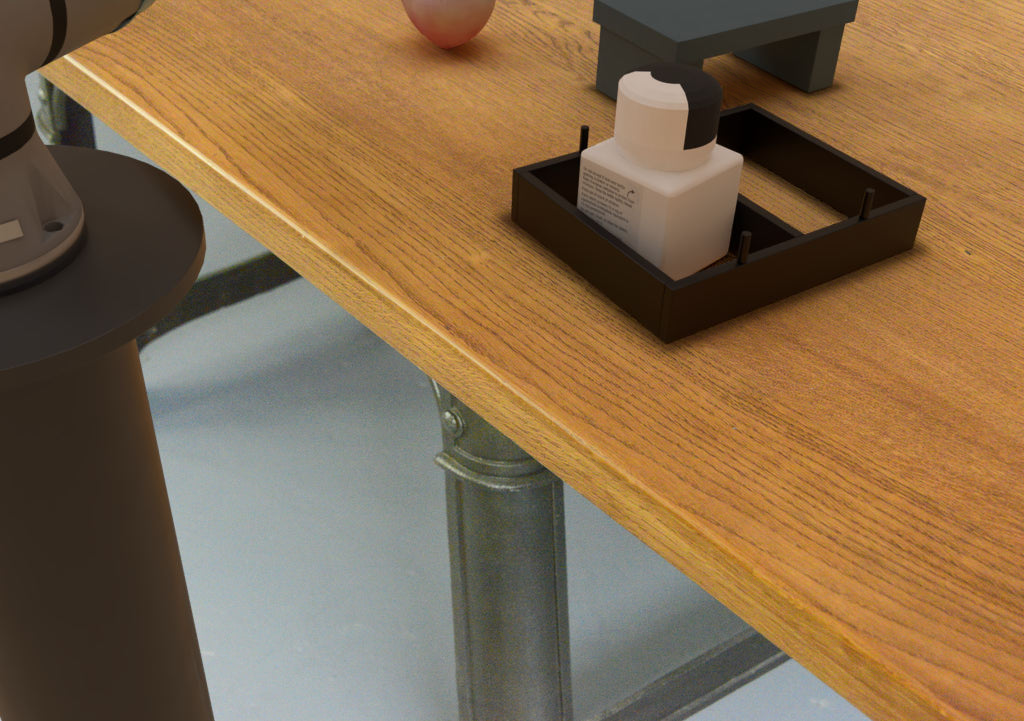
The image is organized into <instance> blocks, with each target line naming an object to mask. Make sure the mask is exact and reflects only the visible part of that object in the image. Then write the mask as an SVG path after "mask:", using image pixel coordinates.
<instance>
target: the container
mask: <svg viewBox="0 0 1024 721" xmlns="http://www.w3.org/2000/svg"><path fill="white" fill-rule="evenodd" d="M723 97H724V89H723V87H722V85H721V84H720V82H719V80H718V79H717V78H716V77H715V76H714V75H713V74H711V73H709V72H708V71H705V70H704V69H703V70H701V69H699V68H696V67H693V66H690V65H687V64H682V63H675V62H656V63H650V64H646V65H641V66H638V67H635V68H633V69H631V70H629V71H628V72H627V73H625V74H624V75H623V76H622V78H621V79H620V81H619V85H618V96H617V101H616V107H615V118H614V127H613V128H614V130H613V136H612V137H609V138H607V139H605V140H602V141H601V142H598V143H596V144H594V145H592V146H590V147H589V146H588V148H587V149H585V150H584V151H582V153H581V162H580V176H579V189H578V203H577V205H576V208H578V209H579V210H581V211H582V212H583V213H585V214H586V215H587V216H589V217H590V218H591V219H593V220H594V221H595V222H597V223H598V224H599V225H601V226H602V227H603V228H605V229H606V230H607V231H609V232H610V233H611V234H613V235H614V236H615V237H617V238H618V239H619V240H621V241H622V242H624V243H625V244H626V245H628V246H629V247H630V248H632V249H633V250H634V251H636V252H637V253H638V254H640V255H641V256H642V257H644V258H645V259H646V260H648V261H649V262H650V263H652V264H653V265H654V266H656V267H657V268H658V269H660V270H661V271H662V272H664V273H665V274H667V275H668V276H669V277H671V278H672V279H673V280H674V281H677V280H679V279H682V278H685V277H688V276H690V275H693V274H696V273H699V272H701V271H703V270H704V269H705V268H707V267H708V266H710V265H712V264H713V263H715V262H716V261H718V260H721V259H722V258H724V257H725V256H727V254H728V253H729V250H728V249H729V243H730V238H731V232H732V226H733V220H734V214H735V208H736V202H737V196H738V192H739V190H740V184H741V178H742V172H743V165H744V155H743V154H742V155H741V154H739V153H736V152H734V151H732V150H729V149H727V148H725V147H722V146H720V145H718V144H716V138H717V131H718V125H719V118H720V112H721V111H722V104H723Z"/></svg>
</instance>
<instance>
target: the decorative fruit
mask: <svg viewBox="0 0 1024 721" xmlns="http://www.w3.org/2000/svg"><path fill="white" fill-rule="evenodd" d="M496 1H497V0H400V2H401V4H402V7H403V9H404V11H405V13H406V15H407V18H408V19H409V21H410V22H411V24H412V25H413V26H414V27H415V29H416V30H417V31H418V32H419V33H420V34H422V35H423V36H424V37H425V38H426V39H427V40H429V41H430V42H431V43H432V44H434V45H436V46H438V47H440V48H441V49H444V50H449V49H452V48H456V47H457V46H460V45H463V44H465V43H467V42H469V41H471V40H472V39H473V38H475V37H476V36H477V35H479V33H480V32H481V31H483V29H484V27H485V26H486V25H487V24H488V22H489V20H490V19H491V16H492V14H493V12H494V9H495V6H496Z"/></svg>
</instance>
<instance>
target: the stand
mask: <svg viewBox="0 0 1024 721" xmlns="http://www.w3.org/2000/svg"><path fill="white" fill-rule="evenodd" d="M859 3H860V0H593V6H592V18H591V19H592V22H593V23H595V24H597V25H599V27H600V28H599V40H598V52H597V64H596V75H595V76H596V77H595V90H597V91H599V92H600V93H602V94H604V95H606V96H607V97H609V98H610V99H612V100H614V101H615V102H617V96H618V85H619V81H620V79H621V78H622V76H623V75H624V74H625V73H627V72H628V71H629V70H631V69H633V68H635V67H638V66H641V65H646V64H650V63H656V62H675V63H682V64H687V65H690V66H693V67H696V68H699V69H701V70H703V71H704V62H705V60H708V59H711V58H715V57H719V56H723V55H727V54H731V53H732V55H734V56H736V57H738V58H739V59H741V60H743V61H746V62H748V63H749V64H751V65H753V66H755V67H757V68H759V69H761V70H763V71H765V72H767V73H769V74H770V75H773V76H775V77H776V78H778V79H780V80H782V81H785V82H786V83H788V84H790V85H792V86H794V87H796V88H798V89H800V90H802V91H804V92H805V93H813V92H816V91H820V90H824V89H827V88H831V87H833V84H834V81H835V80H834V79H835V76H836V75H835V74H836V69H837V65H838V60H839V57H840V56H839V55H840V52H841V46H842V42H843V37H844V33H845V27H846V24H847V25H848V24H850V23H854V22H855V21H856V16H857V12H858V7H859Z"/></svg>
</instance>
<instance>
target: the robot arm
mask: <svg viewBox="0 0 1024 721" xmlns="http://www.w3.org/2000/svg"><path fill="white" fill-rule="evenodd" d="M156 2H157V0H0V297H3V296H7V295H10V294H13V293H16V292H19V291H22V290H24V289H27V288H29V287H32V286H34V285H36V284H38V283H40V282H42V281H44V280H46V279H48V278H50V277H51V276H53V275H55V274H56V273H58V272H59V271H61V270H62V269H63V268H65V267H66V266H67V265H69V264H70V263H71V262H72V261H73V260H74V259H75V258H76V257H77V255H78V254H79V253H80V252H81V250H82V249H83V247H84V245H85V243H86V239H87V234H88V230H87V224H86V220H85V215H84V211H83V206H82V203H81V200H80V199H79V197H78V196H77V194H76V192H75V191H74V189H73V188H72V186H71V185H70V183H69V182H68V180H67V178H66V177H65V175H64V174H63V172H62V171H61V169H60V168H59V166H58V164H57V163H56V161H55V160H54V158H53V157H52V155H51V153H50V152H49V150H48V149H47V147H46V146H45V145H46V144H45V142H44V141H43V139H42V138H41V136H40V134H39V132H38V129H37V126H36V120H35V118H34V112H33V109H32V104H31V100H30V96H29V92H28V87H27V82H26V77H27V76H28V75H30V74H32V73H34V72H35V71H37V70H40V69H41V68H43V67H45V66H48V65H49V64H52V63H53V62H54V61H57V60H59V59H61V58H63V57H64V56H66V55H68V54H70V53H72V52H74V51H76V50H79V49H80V48H82V47H84V46H86V45H88V44H91V43H92V42H94V41H96V40H98V39H100V38H102V37H104V36H108V35H110V34H114V33H117V32H118V31H120V30H122V29H123V28H125V27H126V26H128V25H129V24H130V23H132V22H133V21H134V20H135V18H136V17H137V16H139V15H141V14H142V13H145V11H147V10H148V9H149V8H151V6H152V5H153V4H155V3H156Z"/></svg>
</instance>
